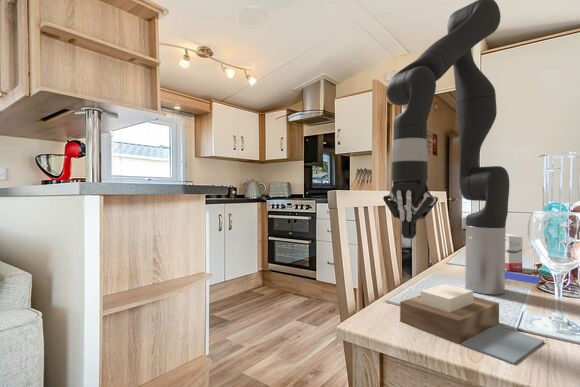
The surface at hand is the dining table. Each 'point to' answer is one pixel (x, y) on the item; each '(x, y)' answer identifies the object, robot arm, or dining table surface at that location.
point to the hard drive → (522, 278)
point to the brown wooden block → (451, 318)
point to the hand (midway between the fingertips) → (408, 237)
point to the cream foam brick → (447, 297)
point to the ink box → (513, 252)
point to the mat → (503, 344)
